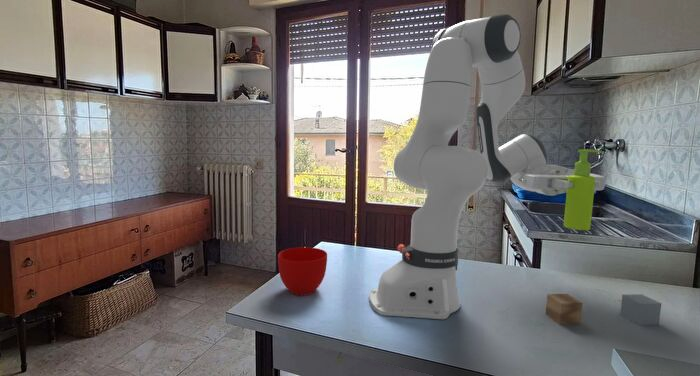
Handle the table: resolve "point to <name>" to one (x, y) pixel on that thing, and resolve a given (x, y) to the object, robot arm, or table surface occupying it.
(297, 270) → the ceramic cup
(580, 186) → the soap dispenser
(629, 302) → the slate-grey block
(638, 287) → the table surface
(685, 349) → the table surface
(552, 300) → the walnut block
